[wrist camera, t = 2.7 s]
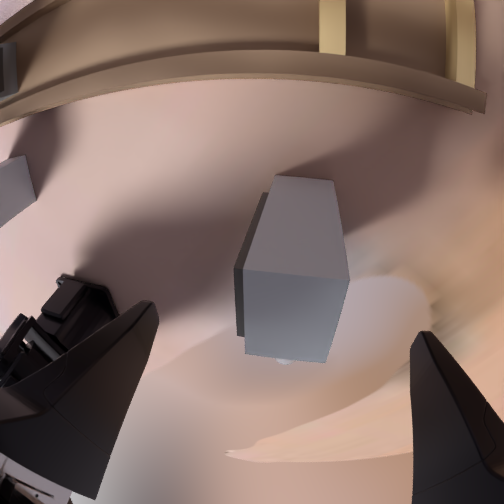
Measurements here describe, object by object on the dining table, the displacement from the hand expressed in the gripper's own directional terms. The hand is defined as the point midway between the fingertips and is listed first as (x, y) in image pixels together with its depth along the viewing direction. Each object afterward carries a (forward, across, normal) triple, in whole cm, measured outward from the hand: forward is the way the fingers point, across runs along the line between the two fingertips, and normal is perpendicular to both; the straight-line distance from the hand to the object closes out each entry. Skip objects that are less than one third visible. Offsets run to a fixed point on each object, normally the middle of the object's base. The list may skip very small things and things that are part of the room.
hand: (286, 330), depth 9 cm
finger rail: (+8, +8, -11) cm, 16 cm away
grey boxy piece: (+8, 0, 0) cm, 8 cm away
